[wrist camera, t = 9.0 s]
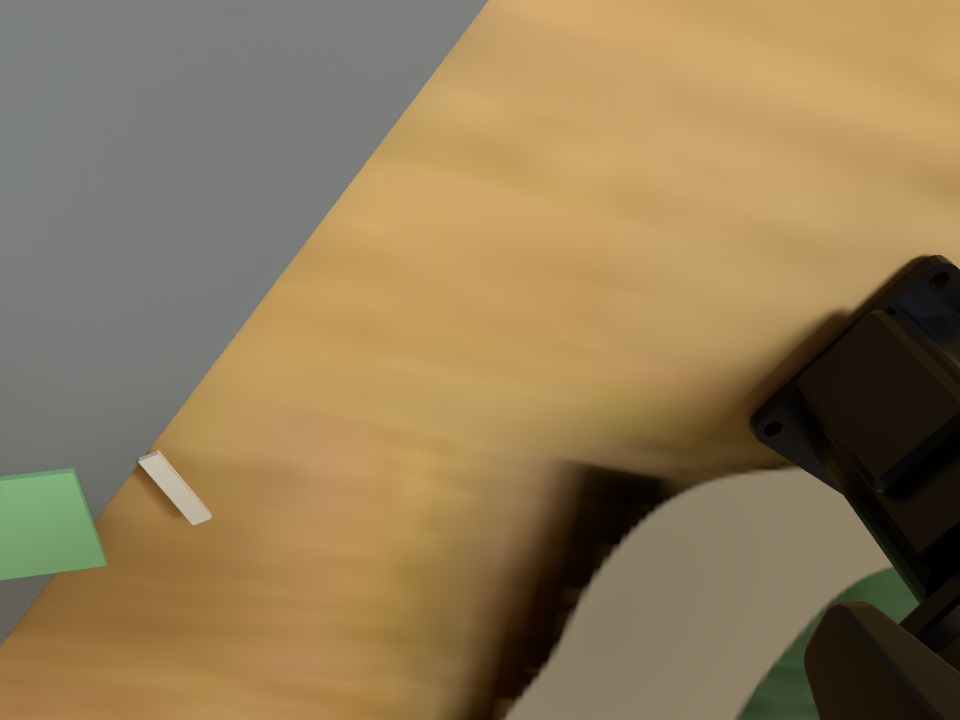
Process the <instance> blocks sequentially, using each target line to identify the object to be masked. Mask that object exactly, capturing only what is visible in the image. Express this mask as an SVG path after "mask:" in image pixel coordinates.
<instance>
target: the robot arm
mask: <svg viewBox="0 0 960 720" xmlns="http://www.w3.org/2000/svg"><path fill="white" fill-rule="evenodd" d="M937 273H939V274H938V275H937V276H936V278H934V279H933V280H931V278H932V277H933V276H934V275H936V274H937ZM930 280H931V281H930ZM771 422H773V423H772V424H771V425H769V426H767V425H768V424H769V423H771ZM749 425H750V429H751V430H752V432H753V433H754V435H755V436H756V438H757V439H758V440H759V441H760V442H762V443H763V444H765V445H766V446H768V447H769V448H771V449H773V450H774V451H776V452H777V453H779V454H780V455H782V456H783V457H785V458H787V459H788V460H790V461H791V462H793V463H794V464H796V465H797V466H799V467H801V468H802V469H804V470H805V471H807V472H808V473H810V474H812V475H813V476H815V477H816V478H818V479H819V480H821V481H822V482H824V483H825V484H827V485H829V486H830V487H832V488H833V489H835V490H837V491H838V492H839V493H841V494H843V495H844V496H845V498H846V499H847V501H848V502H849V504H850V505H851V506H852V508H853V509H854V511H855V512H856V514H857V515H858V516H859V518H860V519H861V521H862V522H863V524H864V525H865V527H866V528H867V529H868V531H869V532H870V534H871V535H872V536H873V538H874V539H875V541H876V542H877V544H878V545H879V547H880V548H881V549H882V551H883V552H884V554H885V555H886V556H887V558H888V559H889V561H890V562H891V564H892V565H893V567H894V568H895V569H896V571H897V572H898V574H899V575H900V577H901V578H902V579H903V581H904V582H905V584H906V585H907V587H908V588H909V589H910V591H911V592H912V594H913V595H914V597H915V598H916V599H917V601H918V602H919V605H918V606H917V607H916V608H915V609H914V610H913V611H912V612H911V613H910V614H909V615H908V616H907V617H905V618H904V619H903V620H902V621H901V622H900V623H899V624H897V623H896V622H894V621H893V620H892V619H891V618H889V617H888V616H887V615H885V614H884V613H883V612H882V611H880V610H879V609H878V608H876V607H875V606H873V605H871V604H869V603H866V602H837V603H834V604H832V605H831V606H829V607H828V609H827V610H826V612H825V613H824V615H823V617H822V619H821V621H820V623H819V624H818V626H817V628H816V630H815V632H814V633H813V635H812V637H811V639H810V641H809V642H808V644H807V646H806V649H805V653H804V666H805V672H806V675H807V679H808V682H809V685H810V689H811V692H812V695H813V699H814V702H815V705H816V709H817V712H818V715H819V719H820V720H960V269H959V268H957V267H956V266H955V265H954V264H953V263H952V262H951V261H949V260H948V259H947V258H945V257H944V256H942V255H933V256H931V257H928V258H926V259H924V260H923V261H921V262H920V263H919V264H918V265H916V266H915V267H914V268H913V269H912V270H911V271H910V272H909V273H908V274H907V275H905V276H904V277H903V278H902V279H901V280H900V281H899V282H898V283H897V284H896V285H894V286H893V287H892V288H891V289H890V290H889V291H888V292H887V293H886V294H885V295H883V296H882V297H881V298H880V299H879V300H878V301H877V302H876V303H875V304H874V305H872V306H871V307H870V308H869V309H868V310H867V311H866V312H865V313H864V314H863V315H861V316H860V317H859V318H858V319H857V320H856V321H855V322H854V323H853V324H852V325H850V326H849V327H848V328H847V329H846V330H845V331H844V332H843V333H842V334H841V335H839V336H838V337H837V338H836V339H835V340H834V341H833V342H832V343H831V344H830V345H828V346H827V347H826V348H825V349H824V350H823V351H822V352H821V353H820V354H819V355H817V356H816V357H815V358H814V359H813V360H812V361H811V362H810V363H809V364H808V365H806V366H805V367H804V368H803V369H802V370H801V371H800V372H799V373H798V374H797V375H795V376H794V377H793V378H792V379H791V380H790V381H789V382H788V383H787V384H786V385H784V386H783V387H782V388H781V389H780V390H779V391H778V392H777V393H776V394H775V395H773V396H772V397H771V398H770V399H769V400H768V401H767V402H766V403H765V404H764V405H762V406H761V407H760V408H759V409H758V410H757V411H756V412H755V413H754V414H753V415H752V417H751V419H750V422H749Z"/></svg>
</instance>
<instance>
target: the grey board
mask: <svg viewBox="0 0 960 720" xmlns="http://www.w3.org/2000/svg"><path fill="white" fill-rule="evenodd" d="M487 2H488V0H0V647H1V645H2V644H3V643H4V641H5V640H6V639H7V637H8V636H9V635H10V633H11V632H12V631H13V629H14V628H15V627H16V625H17V624H18V623H19V621H20V620H21V619H22V617H23V616H24V615H25V613H26V612H27V611H28V609H29V608H30V607H31V606H32V604H33V603H34V602H35V600H36V599H37V598H38V596H39V595H40V594H41V592H42V591H43V590H44V588H45V587H46V586H47V584H48V583H49V582H50V580H51V579H52V578H53V576H54V575H55V574H56V573H59V572H66V571H74V570H82V569H89V568H97V567H104V566H107V564H108V560H107V557H106V555H105V552H104V549H103V546H102V544H101V541H100V538H99V536H98V533H97V530H96V527H95V525H94V522H95V521H96V519H97V518H98V517H99V515H100V514H101V513H102V511H103V510H104V509H105V507H106V506H107V505H108V504H109V502H110V501H111V500H112V498H113V497H114V496H115V494H116V493H117V492H118V490H119V489H120V488H121V486H122V485H123V484H124V482H125V481H126V480H127V478H128V477H129V476H130V474H131V473H132V472H133V470H134V469H135V468H136V466H137V465H138V464H140V465H141V466H142V467H143V468H144V469H145V471H146V472H147V473H148V474H149V475H150V476H151V478H152V479H153V480H154V481H155V482H156V483H157V484H158V486H159V487H160V488H161V489H162V490H163V491H164V493H165V494H166V495H167V496H168V497H169V498H170V499H171V501H172V502H173V503H174V504H175V505H176V506H177V508H178V509H179V510H180V511H181V512H182V513H183V514H184V516H185V517H186V518H187V519H188V520H189V521H190V523H191V524H192V525H193V526H194V525H196V524H198V523H201V522H203V521H206V520H208V519H211V516H212V514H211V512H210V511H209V510H208V509H207V508H206V506H205V505H204V504H203V503H202V502H201V500H200V499H199V498H198V497H197V496H196V494H195V493H194V492H193V491H192V490H191V488H190V487H189V486H188V485H187V484H186V482H185V481H184V480H183V479H182V478H181V476H180V475H179V474H178V473H177V472H176V470H175V469H174V468H173V467H172V466H171V465H170V463H169V462H168V461H167V460H166V459H165V457H164V456H163V455H162V454H161V453H160V451H159V450H157V451H154V452H152V453H149V454H147V455H146V453H147V452H148V451H149V449H150V448H151V447H152V445H153V444H154V443H155V441H156V440H157V439H158V437H159V436H160V435H161V433H162V432H163V431H164V429H165V428H166V427H167V425H168V424H169V423H170V421H171V420H172V419H173V417H174V416H175V415H176V413H177V412H178V411H179V409H180V408H181V407H182V406H183V404H184V403H185V402H186V400H187V399H188V398H189V396H190V395H191V394H192V392H193V391H194V390H195V388H196V387H197V386H198V384H199V383H200V382H201V380H202V379H203V378H204V376H205V375H206V374H207V372H208V371H209V370H210V368H211V367H212V366H213V364H214V363H215V362H216V360H217V359H218V358H219V357H220V355H221V354H222V353H223V351H224V350H225V349H226V347H227V346H228V345H229V343H230V342H231V341H232V339H233V338H234V337H235V335H236V334H237V333H238V331H239V330H240V329H241V327H242V326H243V325H244V323H245V322H246V321H247V319H248V318H249V317H250V315H251V314H252V313H253V311H254V310H255V309H256V308H257V306H258V305H259V304H260V302H261V301H262V300H263V298H264V297H265V296H266V294H267V293H268V292H269V290H270V289H271V288H272V286H273V285H274V284H275V282H276V281H277V280H278V278H279V277H280V276H281V274H282V273H283V272H284V270H285V269H286V268H287V266H288V265H289V264H290V262H291V261H292V260H293V258H294V257H295V256H296V255H297V253H298V252H299V251H300V249H301V248H302V247H303V245H304V244H305V243H306V241H307V240H308V239H309V237H310V236H311V235H312V233H313V232H314V231H315V229H316V228H317V227H318V225H319V224H320V223H321V221H322V220H323V219H324V217H325V216H326V215H327V213H328V212H329V211H330V209H331V208H332V207H333V206H334V204H335V203H336V202H337V200H338V199H339V198H340V196H341V195H342V194H343V192H344V191H345V190H346V188H347V187H348V186H349V184H350V183H351V182H352V180H353V179H354V178H355V176H356V175H357V174H358V172H359V171H360V170H361V168H362V167H363V166H364V164H365V163H366V162H367V160H368V159H369V158H370V157H371V155H372V154H373V153H374V151H375V150H376V149H377V147H378V146H379V145H380V143H381V142H382V141H383V139H384V138H385V137H386V135H387V134H388V133H389V131H390V130H391V129H392V127H393V126H394V125H395V123H396V122H397V121H398V119H399V118H400V117H401V115H402V114H403V113H404V111H405V110H406V109H407V108H408V106H409V105H410V104H411V102H412V101H413V100H414V98H415V97H416V96H417V94H418V93H419V92H420V90H421V89H422V88H423V86H424V85H425V84H426V82H427V81H428V80H429V78H430V77H431V76H432V74H433V73H434V72H435V70H436V69H437V68H438V66H439V65H440V64H441V62H442V61H443V60H444V59H445V57H446V56H447V55H448V53H449V52H450V51H451V49H452V48H453V47H454V45H455V44H456V43H457V41H458V40H459V39H460V37H461V36H462V35H463V33H464V32H465V31H466V29H467V28H468V27H469V25H470V24H471V23H472V21H473V20H474V19H475V17H476V16H477V15H478V13H479V12H480V11H481V10H482V8H483V7H484V6H485V4H486V3H487Z"/></svg>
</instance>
